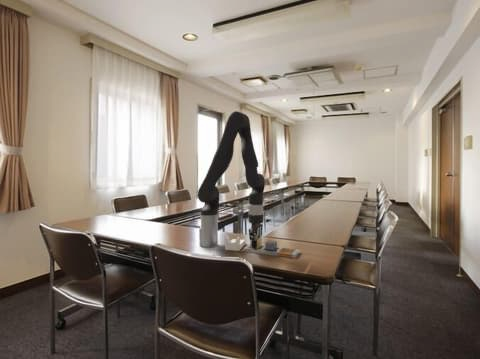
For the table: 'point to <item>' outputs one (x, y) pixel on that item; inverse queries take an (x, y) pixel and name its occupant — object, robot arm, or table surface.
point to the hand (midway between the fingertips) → (256, 246)
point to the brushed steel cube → (271, 245)
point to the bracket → (234, 244)
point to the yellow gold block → (257, 243)
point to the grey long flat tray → (280, 252)
